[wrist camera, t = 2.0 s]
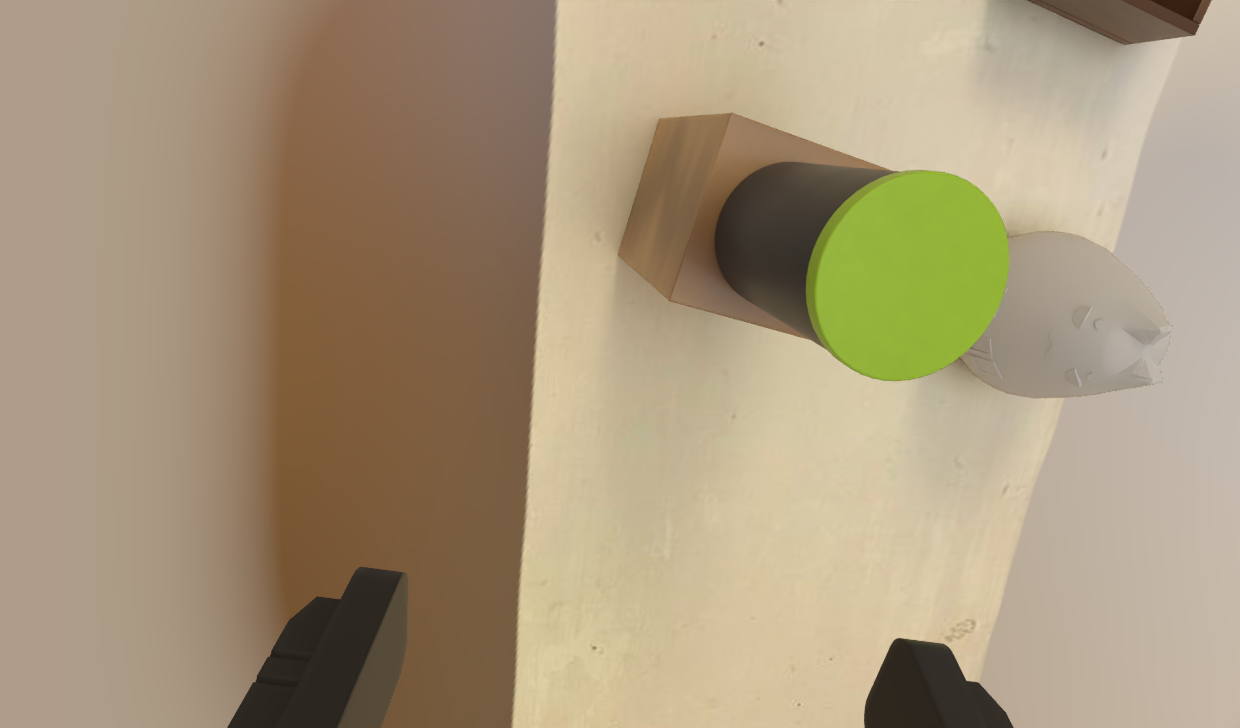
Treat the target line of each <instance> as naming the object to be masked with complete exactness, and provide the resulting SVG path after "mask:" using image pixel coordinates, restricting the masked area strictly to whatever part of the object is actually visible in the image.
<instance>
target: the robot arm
mask: <svg viewBox="0 0 1240 728" xmlns="http://www.w3.org/2000/svg"><path fill="white" fill-rule="evenodd" d="M407 599H408V577H407V574H406V573H404V572H396V571H388V570H380V569H373V568H364V567H359V568H358V569H357V570H356V571H355V573H354V574H353V576H352V578H351V580H350V582H349V584H348V586H347V588H346V590H345V592H344V594H343V596H342V598H341V600H340V599H332V598H324V597H316V598H315V599H314V600H313V601H311V602H310V603H309V604H308V605H307V606H306V607H304V608H303V609H302V610H301V611H300V612H299V613H297V614H296V615H295V616H294V617H293V618H291V619H290V620H289V622H288V623H287V625H286V627H285V629H284V630H283V632H282V633H281V635H280V637H279V639H278V640H277V642H276V644H275V646H274V647H273V649H272V651H271V655H270V657H268V658H267V659H266V661H265V663H264V665H263V666H262V668H261V670H260V672H259V674H258V675H257V680H256V682H255V683H253V684H252V686H251V687H250V689H249V691H248V693H247V694H246V696H245V698H244V700H243V701H242V703H241V705H240V706H239V708H238V710H237V712H236V713H235V715H234V717H233V719H232V720H231V722H230V724H229V726H228V728H381V727H382V724H383V722H384V719H385V716H386V713H387V711H388V708H389V705H390V702H391V699H392V697H393V694H394V691H395V688H396V685H397V683H398V680H399V677H400V673H401V670H402V666H403V661H404V656H405V651H406V643H407V602H408V600H407ZM864 724H865V728H1013V726H1012V724H1011V722H1010V720H1009V718H1008V716H1007V714H1006V712H1005V711H1004V710H1003V709H1002V708H1001V707H1000V706H999V705H998V704H997V703H996V701H995V700H994V699H993V698H992V697H991V696H990V695H989V694H988V693H987V691H986V690H985V689H984V688H983V687H982V686H981V685H980V684H979V683H978V682H970V681H966V679H965V677H964V675H963V673H962V671H961V669H960V667H959V665H958V663H957V661H956V659H955V656H954V655H953V653H952V651H951V650H950V648H949V647H948V646H946V645H945V644H940V643H933V642H925V641H917V640H909V639H902V638H898V639H896V640H894V641H893V643H892V644H891V646H890V648H889V651H888V653H887V655H886V657H885V659H884V662H883V664H882V666H881V668H880V671H879V673H878V675H877V677H876V680H875V682H874V684H873V686H872V688H871V691H870V693H869V695H868V698H867V701H866V705H865V713H864Z"/></svg>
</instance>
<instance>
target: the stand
mask: <svg viewBox="0 0 1240 728" xmlns="http://www.w3.org/2000/svg"><path fill="white" fill-rule="evenodd" d="M780 162H802V163H813V164H823V165H834V166H845V167H855V168H866V169H877V170H887V171H891V170H889V169H886V168H883V167H880V166H878V165H875V164H872V163H869V162H866V161H864V160H861V159H858V158H855V157H853V156H850V155H847V154H844V153H841V152H839V151H836V150H833V149H830V148H828V147H825V146H822V145H819V144H817V143H814V142H811V141H808V140H805V139H803V138H800V137H797V136H794V135H792V134H789V133H786V132H783V131H781V130H778V129H775V128H772V127H769V126H767V125H764V124H761V123H758V122H756V121H753V120H750V119H747V118H745V117H742V116H739V115H736V114H733V113H725V114H712V115H699V116H686V117H673V118H660V119H659V123H658V126H657V129H656V132H655V136H654V139H653V142H652V145H651V149H650V152H649V155H648V159H647V162H646V165H645V168H644V172H643V175H642V178H641V181H640V185H639V188H638V191H637V194H636V198H635V201H634V204H633V208H632V211H631V214H630V217H629V221H628V224H627V227H626V230H625V234H624V237H623V240H622V243H621V247H620V250H619V253H618V256H619V257H620V258H622V259H623V260H624V261H625V262H626V263H627V264H628V265H629V266H631V267H632V268H633V269H634V270H635V271H636V272H637V273H639V274H640V275H641V276H642V277H643V278H644V279H645V280H646V281H648V282H649V283H650V284H651V285H652V286H653V287H654V288H656V289H657V290H658V291H659V292H660V293H661V294H662V295H664V296H665V297H666V298H667V299H668V300H669V301H671V302H675V303H679V304H682V305H686V306H689V307H693V308H697V309H700V310H704V311H708V312H711V313H715V314H718V315H722V316H726V317H729V318H733V319H737V320H740V321H744V322H747V323H751V324H755V325H758V326H762V327H766V328H769V329H773V330H776V331H780V332H784V333H787V334H791V335H795V336H798V337H802V338H805V339H809V338H807V337H806V336H804V335H802V334H801V333H799V332H797V331H796V330H794V329H793V328H791V327H789V326H788V325H786V324H785V323H783V322H781V321H780V320H778V319H777V318H775V317H773V316H772V315H770V314H769V313H767V312H765V311H764V310H762V309H761V308H759V307H757V306H756V305H754V304H753V303H751V302H749V301H748V300H746V299H745V298H743V297H742V296H740V295H739V294H738V293H737V292H736V291H735V290H734V289H733V288H732V287H731V286H730V285H729V284H728V282H727V281H726V280H725V278H724V276H723V274H722V272H721V270H720V267H719V265H718V261H717V257H716V251H715V233H716V226H717V222H718V218H719V215H720V213H721V210H722V208H723V206H724V204H725V202H726V200H727V198H728V197H729V196H730V194H731V193H732V191H733V190H734V189H735V188H736V187H737V186H738V185H739V183H740V182H742V181H743V180H744V179H745V178H746V177H748V176H749V175H750V174H752V173H754V172H755V171H757V170H759V169H761V168H763V167H765V166H768V165H771V164H775V163H780ZM809 340H810V339H809Z"/></svg>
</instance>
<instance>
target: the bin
mask: <svg viewBox="0 0 1240 728" xmlns="http://www.w3.org/2000/svg"><path fill="white" fill-rule="evenodd" d="M1029 1H1032V2H1034V3H1036V4H1038V5H1040V6H1042V7H1044V8H1047V9H1049V10H1051V11H1053V12H1055V13H1057V14H1060V15H1062V16H1064V17H1066V18H1068V19H1070V20H1072V21H1075V22H1077V23H1079V24H1081V25H1083V26H1085V27H1088V28H1090V29H1092V30H1094V31H1096V32H1098V33H1100V34H1103V35H1105V36H1107V37H1109V38H1111V39H1113V40H1116V41H1118V42H1120V43H1122V44H1124V45H1127V44H1132V43H1133V44H1134V43H1141V42H1149V41H1156V40H1164V39H1171V38H1178V37H1186V36H1193V35H1195V34H1196V32H1197V30H1198V28H1199V24H1200V23H1201V21H1202V19H1203V17H1204V15H1205V13H1206V11H1207V9H1208V7H1209V5H1210V2H1211V0H1029Z"/></svg>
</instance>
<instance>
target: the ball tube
mask: <svg viewBox="0 0 1240 728" xmlns="http://www.w3.org/2000/svg"><path fill="white" fill-rule="evenodd" d="M715 251H716V257H717V261H718V265H719V267H720V270H721V272H722V274H723V276H724V278H725V280H726V281H727V282H728V284H729V285H730V286H731V287H732V288H733V289H734V290H735V291H736V292H737V293H738V294H739V295H740V296H742V297H743V298H745V299H746V300H748V301H749V302H751V303H753V304H754V305H756V306H757V307H759V308H761V309H762V310H764V311H765V312H767V313H769V314H770V315H772V316H773V317H775V318H777V319H778V320H780V321H781V322H783V323H785V324H786V325H788V326H789V327H791V328H793V329H794V330H796V331H797V332H799V333H801V334H802V335H804V336H806V337H807V338H809V339H810V340H812V341H814V342H815V343H817V344H818V345H820V346H822V347H823V348H825V349H826V350H828V351H829V352H830V353H831V354H832V355H833V356H834V357H835V358H836V359H837V360H839V361H840V362H841V363H843V364H844V365H846V366H847V367H849V368H851V369H852V370H854V371H856V372H858V373H860V374H862V375H865V376H867V377H870V378H874V379H879V380H884V381H902V380H911V379H915V378H920V377H923V376H926V375H929V374H932V373H934V372H936V371H938V370H940V369H942V368H944V367H946V366H948V365H949V364H951V363H952V362H954V361H955V360H957V359H958V358H959V357H960V356H962V355H963V354H964V353H965V352H967V351H968V350H969V349H970V348H971V347H972V346H973V345H974V344H975V343H976V341H977V340H978V339H979V338H980V337H981V335H982V334H983V333H984V332H985V330H986V329H987V327H988V326H989V324H990V322H991V321H992V319H993V317H994V315H995V313H996V311H997V310H998V308H999V305H1000V302H1001V300H1002V297H1003V295H1004V291H1005V287H1006V283H1007V278H1008V272H1009V244H1008V238H1007V234H1006V230H1005V227H1004V224H1003V221H1002V219H1001V217H1000V215H999V213H998V211H997V209H996V208H995V206H994V205H993V203H992V202H991V201H990V200H989V198H988V197H987V196H986V195H985V194H984V193H983V192H982V191H981V190H980V189H979V188H977V187H976V186H974V185H973V184H972V183H970V182H969V181H967V180H965V179H962V178H960V177H958V176H955V175H952V174H948V173H945V172H936V171H926V170H909V171H903V172H898V171H887V170H877V169H866V168H855V167H845V166H834V165H823V164H813V163H802V162H780V163H775V164H771V165H768V166H765V167H763V168H761V169H759V170H757V171H755V172H754V173H752V174H750V175H749V176H748V177H746V178H745V179H744V180H743V181H742V182H740V183H739V185H738V186H737V187H736V188H735V189H734V190H733V191H732V193H731V194H730V196H729V197H728V198H727V200H726V202H725V204H724V206H723V208H722V210H721V213H720V215H719V218H718V222H717V226H716V233H715Z"/></svg>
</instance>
